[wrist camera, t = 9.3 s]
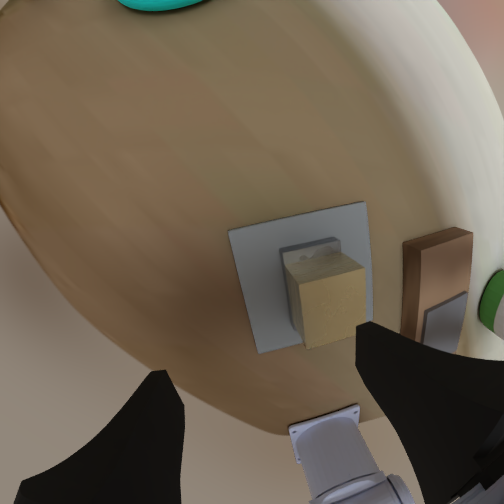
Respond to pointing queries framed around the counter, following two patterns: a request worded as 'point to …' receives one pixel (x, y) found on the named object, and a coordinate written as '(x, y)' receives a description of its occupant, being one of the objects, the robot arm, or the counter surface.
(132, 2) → the turquoise yoyo
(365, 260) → the slate mat
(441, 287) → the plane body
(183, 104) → the counter surface
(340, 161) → the counter surface
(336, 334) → the tan small block
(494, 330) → the wine bottle
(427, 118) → the counter surface
